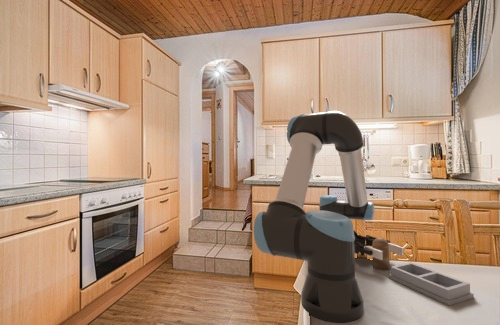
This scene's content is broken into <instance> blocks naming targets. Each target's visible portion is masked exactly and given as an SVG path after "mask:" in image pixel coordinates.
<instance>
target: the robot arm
mask: <svg viewBox="0 0 500 325" xmlns="http://www.w3.org/2000/svg"><path fill="white" fill-rule="evenodd" d="M286 131H287V132H286V139H287V141H288V144H289V146H290V147H291V149H290V152H289V155H288V158H287V162H286V165H285V168H284V171H283V174H282V178H281V181H280V185H279V188H278V192H277V194H276V197H275V200H272V201H271V202H269V204H268V206H267V209H266V211H260V212H258V213H257V214H256V216H255V219H254V223H253V238H254V241H255V242H254V243H255V245H256V247H257V249H258V250H259V251H260V252H261V253H264V254H268V255H271V256H272V257H273V256H274V257H275V256H278V257H281V258H282V257H284V258H289V259H295V260H298V261H299V260H300V261H306V265H307V272H306V273H307V274H306V277H305V281H304V283H303V286H302V290H301V294H300V297H301V301H300V303H301V306H302V308H303V309H304V310H305V311H306V313H308V314H310V315H311V316H313V317H315V318H318V319H320V320H322V321H326V322H327V321H328V322H332V323H347V322H352V321H356V320H357V319H360V318H361V317H362V316H363V315H364V312H365V311H364V299H363V296H362V292H361V290H360V287H359V284H358V282H357V279H356V266H355V265H356V264H355V263H356V260H355V258H356V257H355V254H356V255H359V254H360V256H361V257H364V256H365V255H366V256H370V257H371V258H373V257H374V258H377V259H379V260H383V252H382V251H380V250H377V249H374V248H372V243H373V241H374V239H376V238H377V237H375V236H372V235H369V234H366V235H365V236H364V235H361V234H358V233H357V231H355V229H354V223H353V221H352V220H355V219H356V221H357V220H358V221H373V220H374V219H375V205H374V202H372V201H368V196H367V195H368V194H367V186H366V178H365V170H364V164H363V163H364V162H363V154H362V149H363V147H364V139H363V134H362V132H361V130H360V128H359V127H358V125H357V124H356V122H355V121H354V120H353V119H352V118H351V117H350V116H349V115H347V114H346V113H343V112H341V111H338V110H330V111H324V112H315V113H314V112H313V113H306V114H305V113H303V114H300V115H295V116H293V117H291V119H290V120H289V121H288V124H287V126H286ZM323 145H334V147H335V151H337V152H338V153H339V161H340V164H341V170H342V171H341V172H342V179H343V182H344V188H345V193H346V198H347V200H340V199H339V200H338V197H337V196H336V195H332V194H331V195H330V194H328V195H327V194H325V195H324V194H323V195H321V196H320V197H319V205H318V207H319V210H318V209H314V210H313V209H312V210H311V209H310V210H308V211H307V212H306V211H305V209H304V204H305V201H306V196H307V194H308V193H307V192H308V188H309V184H310V180H311V176H312V173H313V167H314V163H315V159H316V155H318V154H319V153H320V152H321V151H322V148H323ZM385 240H386V241H387V242H388V244H389V253H392V254H396V255H399V256H400V257H401V256H402V257H403V256H404V254H405V253H404V247H403V246H400V245H397V244H394V243H391V240H389V239H385Z"/></svg>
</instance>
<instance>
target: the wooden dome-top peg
mask: <svg viewBox="0 0 500 325" xmlns="http://www.w3.org/2000/svg"><path fill="white" fill-rule="evenodd" d="M386 240H387V239H385V238H383V237H376V239H374V241H373V243H372V246H371V247H372V248H374V249H377V250H380V251H382V252H383V260H379V259H377V258H374V257H372V268H374V269H376V270H380V271H389V270H391V266H390V252H389V244H388V242H387V241H386Z"/></svg>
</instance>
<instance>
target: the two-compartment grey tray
mask: <svg viewBox="0 0 500 325" xmlns="http://www.w3.org/2000/svg"><path fill="white" fill-rule="evenodd" d="M388 278H389V279H391V280H393V281H395V282H397V283H398V284H401V285H404V286H405V287H408V288H410V289H412V290H414V291H416V292H419V293H421V294H424V295H425V296H427V297H430V298H432V299H434V300H436V301H438V302H441V303H442V304H445V305H447V306H452V305H456V304H459V303H462V302H465V301H468V300H470V299H471V300H472V299H473V298H474V297H475V296H474V295H475V294H474V293H472V292H471V283H470V282H469V283H468V282H467V281H464V280H461V279H458V278H455V277H452V276H449V275H446V274H444V273H441V272H439V271H436V270H434V269H433V270H432V269H431V268H427V267H426V266H425V267H424V266H422V265H419V264H416V263H414V262H407V263H402V264H397V265H392V266H390V274H388Z"/></svg>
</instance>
